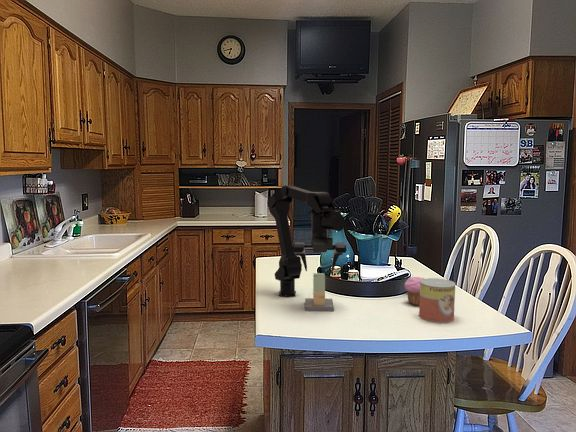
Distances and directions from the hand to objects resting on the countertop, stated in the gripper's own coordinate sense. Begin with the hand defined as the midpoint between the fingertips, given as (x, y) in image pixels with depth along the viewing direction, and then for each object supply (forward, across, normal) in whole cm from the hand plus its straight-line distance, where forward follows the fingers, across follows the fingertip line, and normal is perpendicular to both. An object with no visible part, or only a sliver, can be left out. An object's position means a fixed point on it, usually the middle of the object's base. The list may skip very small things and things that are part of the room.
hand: (319, 271), depth 166 cm
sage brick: (+6, 0, 0) cm, 6 cm away
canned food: (+13, +39, -10) cm, 42 cm away
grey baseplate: (+13, 0, 0) cm, 13 cm away
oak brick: (+12, 0, 0) cm, 12 cm away
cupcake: (+13, +36, +5) cm, 39 cm away
